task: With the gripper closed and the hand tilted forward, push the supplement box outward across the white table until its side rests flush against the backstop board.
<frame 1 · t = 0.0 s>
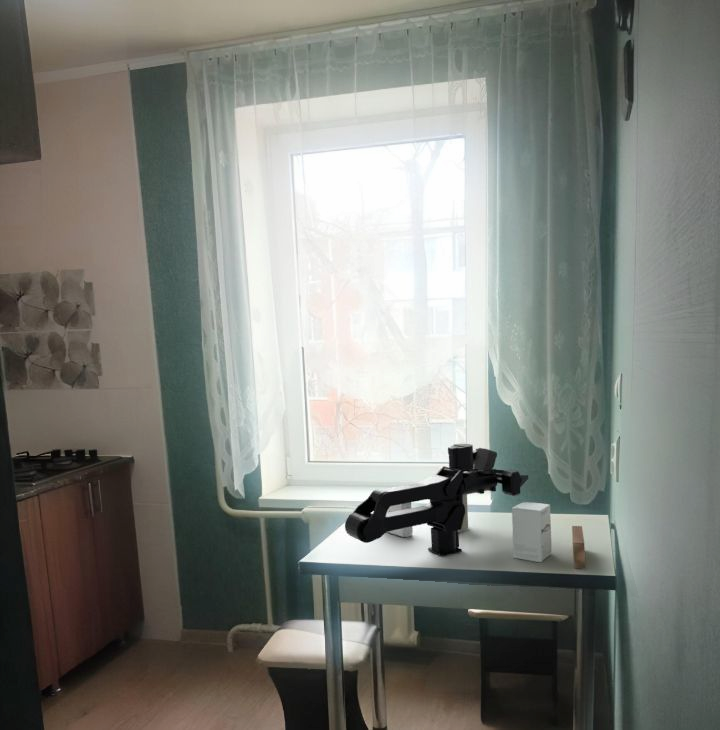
hand: (515, 474, 172), 17 cm above the table, tool horizontal, fingers open, 9 cm apart
board: (578, 558, 150), on the table
photo printer: (397, 534, 178), on the table
travel mug: (454, 530, 179), on the table
supplement box: (532, 557, 154), on the table
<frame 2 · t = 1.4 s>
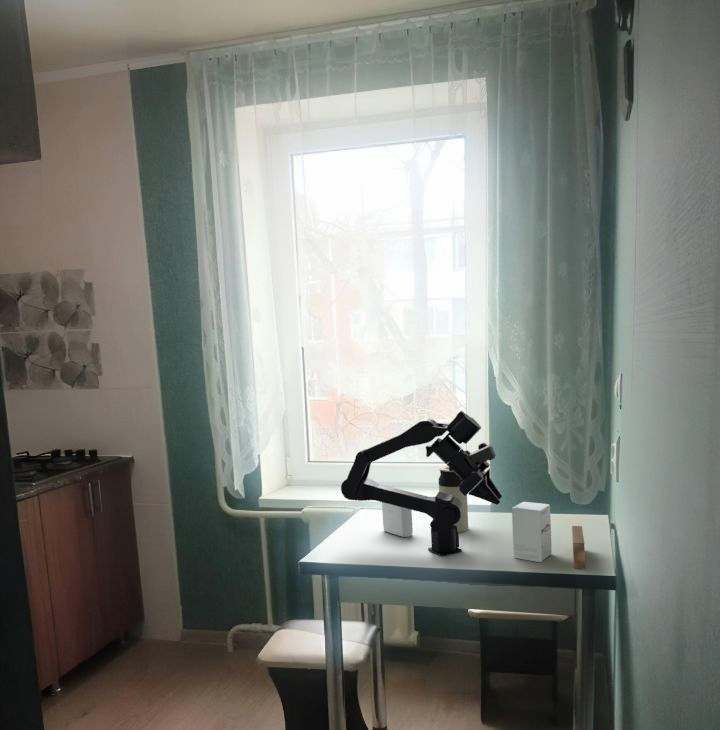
hand: (499, 500, 156), 14 cm above the table, tool tilted 45°, fingers open, 5 cm apart
nothing on the table moved.
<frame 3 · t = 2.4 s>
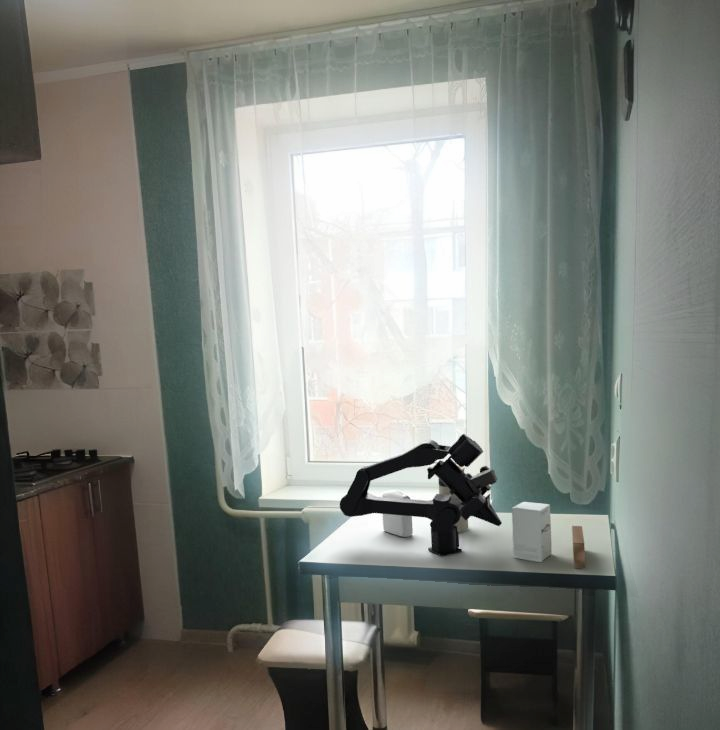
hand: (500, 524, 156), 8 cm above the table, tool tilted 45°, fingers closed
nothing on the table moved.
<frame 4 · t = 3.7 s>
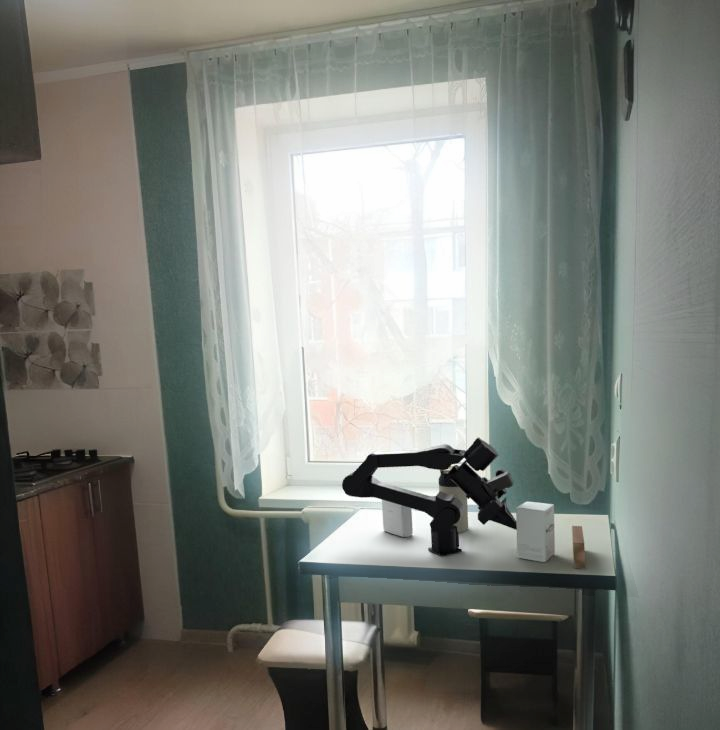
hand: (518, 528, 154), 7 cm above the table, tool tilted 45°, fingers closed
supplement box: (536, 556, 153), on the table, touching gripper
everything else where it was.
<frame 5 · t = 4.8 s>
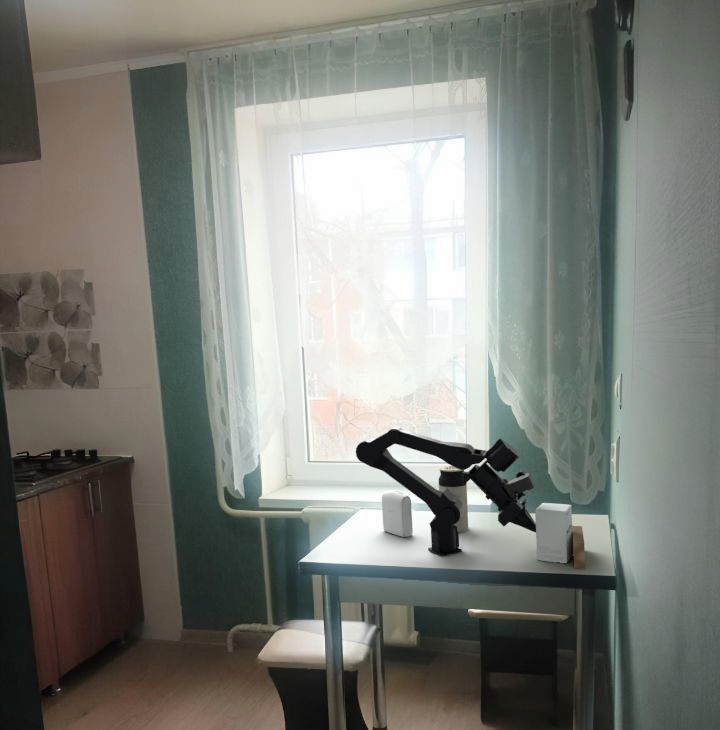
hand: (537, 530, 153), 6 cm above the table, tool tilted 45°, fingers closed, pressing on supplement box
supplement box: (555, 558, 152), on the table, touching board, gripper
everything else where it was.
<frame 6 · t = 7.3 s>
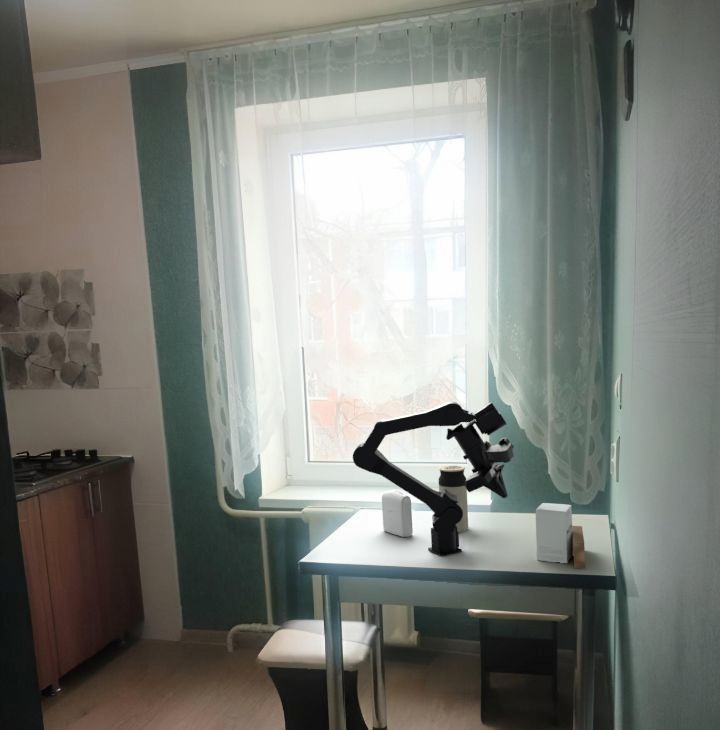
hand: (505, 497, 158), 14 cm above the table, tool tilted 30°, fingers closed
supplement box: (555, 558, 152), on the table
everything else where it was.
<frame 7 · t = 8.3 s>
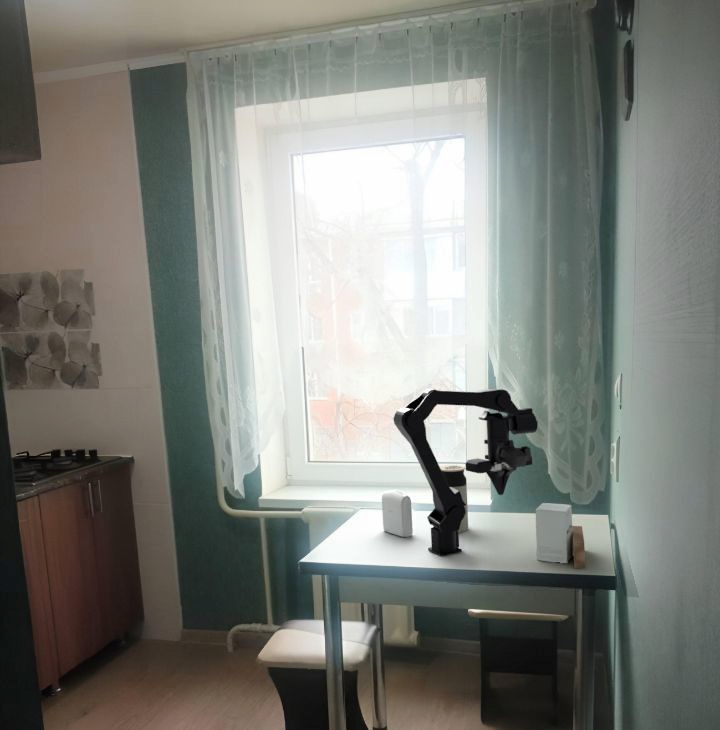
hand: (500, 494, 164), 13 cm above the table, tool pointing down, fingers closed
supplement box: (555, 558, 152), on the table, touching board
everything else where it was.
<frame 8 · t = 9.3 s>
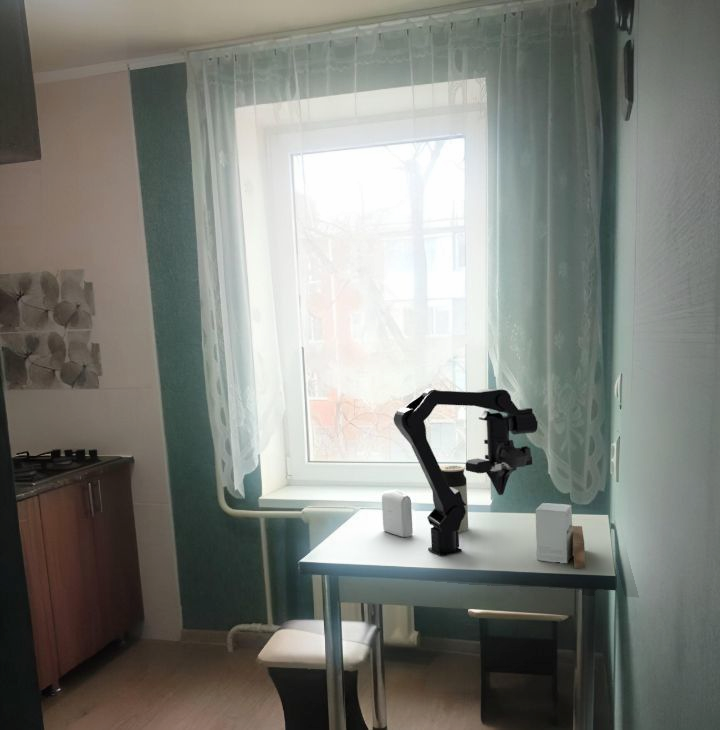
hand: (500, 494, 164), 13 cm above the table, tool pointing down, fingers closed
supplement box: (555, 558, 152), on the table
everything else where it was.
at the end: supplement box 0.7 cm from the target spot on the table beside the board, on the table; supplement box tilted 0°; supplement box moved 5.4 cm from its start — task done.
